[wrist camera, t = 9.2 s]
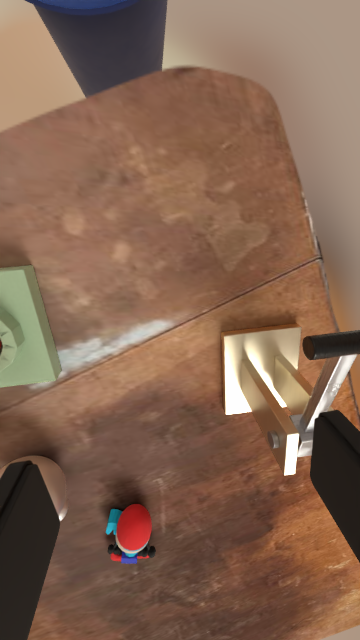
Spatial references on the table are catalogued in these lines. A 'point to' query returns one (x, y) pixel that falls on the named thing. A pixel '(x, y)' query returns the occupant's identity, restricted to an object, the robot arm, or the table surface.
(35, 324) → the button block
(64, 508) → the silver rounded figure
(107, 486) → the table surface
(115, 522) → the toy figure
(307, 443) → the lever
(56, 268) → the table surface
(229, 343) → the bracket
